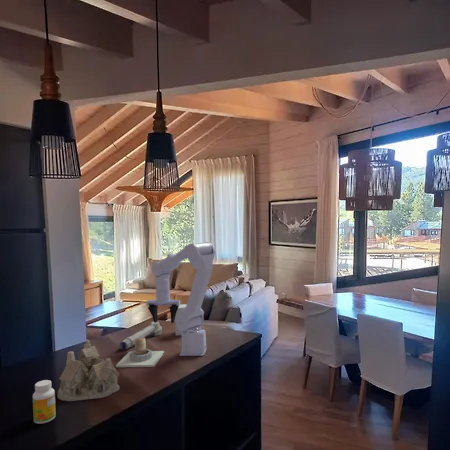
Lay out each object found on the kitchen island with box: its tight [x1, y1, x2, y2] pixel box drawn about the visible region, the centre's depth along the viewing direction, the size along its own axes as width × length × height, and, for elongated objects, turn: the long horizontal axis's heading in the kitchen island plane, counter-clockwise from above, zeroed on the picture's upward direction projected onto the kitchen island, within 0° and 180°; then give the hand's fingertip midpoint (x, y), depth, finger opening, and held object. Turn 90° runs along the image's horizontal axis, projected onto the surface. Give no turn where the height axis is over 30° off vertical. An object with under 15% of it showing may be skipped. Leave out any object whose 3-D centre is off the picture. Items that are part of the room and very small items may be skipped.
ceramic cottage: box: [56, 339, 120, 402], centre depth 117 cm, size 16×16×15 cm
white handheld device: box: [119, 321, 163, 351], centre depth 165 cm, size 5×7×25 cm
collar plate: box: [115, 348, 165, 368], centre depth 142 cm, size 14×14×3 cm
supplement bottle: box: [32, 379, 57, 425], centre depth 101 cm, size 5×5×10 cm
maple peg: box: [134, 337, 147, 355], centre depth 142 cm, size 4×4×7 cm
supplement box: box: [174, 303, 187, 336], centre depth 173 cm, size 7×7×13 cm
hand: (164, 322), depth 158 cm, fingers open, 7 cm apart
